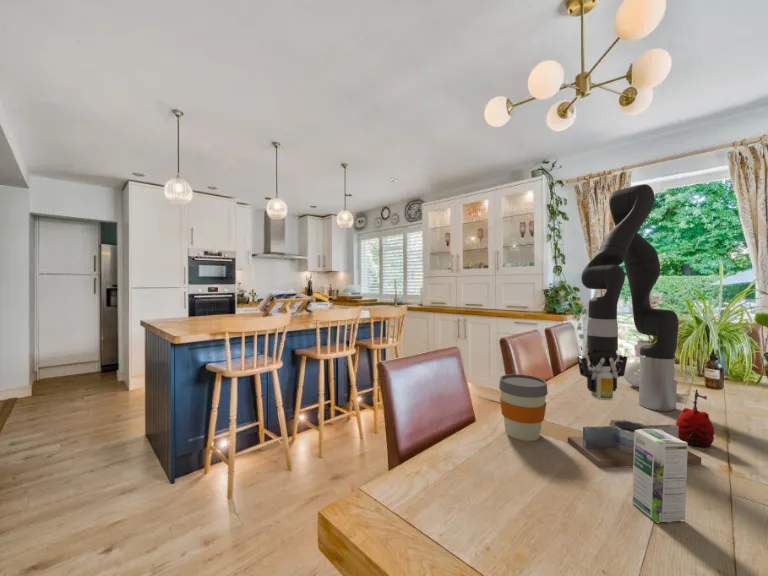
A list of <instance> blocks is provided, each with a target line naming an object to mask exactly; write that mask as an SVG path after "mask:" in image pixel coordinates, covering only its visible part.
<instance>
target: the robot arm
mask: <svg viewBox="0 0 768 576" xmlns="http://www.w3.org/2000/svg"><path fill="white" fill-rule="evenodd" d="M655 200H656V199H655V193H654V190H653V188H652V187H651V186H650V185H649V184H644V183H643V184H638V185H633V186H628V187H626V188H621V189H618V190H614V191H612V192H611V194H610V195H609V199H608V206H609V211H610V214H611V217H612V220H613V223H614V227H613V228H612V229H611V230H610V231H608V233H607V234H606V235H605V236H604V238H603V241H602V243H601V245H600V247H599V250H598V252H597V253H596V255H594V256H593V258H591V260H590V261H589V262H588V263H587V264H586V266H585V267H584V268H583V271H582V272H581V278H580V279H581V283H582V285H583V286H584V287H585V288H586V289H589V290H606V291H605V293H604V294H603V296H598V297H592V298H589V300H588V310H587V311H588V320H587V328H586V329H587V330H586V331H587V333H586V334H587V337H586V340H587V345H586V346H587V347H586V348H587V349H588V351H587V354H586V355H583V356H582V355H578V356H577V358H576V359H577V364H578V368H579V374H580V376H582V377H585V379H587V381H586V386H587V387H586V388H587V390H588V391H589V392H590V393H591V392H596V380H595V378H596V375H597V373H599V371H600V369H601V367H602V366H610V367H611V370H610V371H609V372H610V373H612V375H613V392H616V391H617V388H618V379H619V378H620V377H623V376H624V373H625V368H626V363H627V355H622V354H618V353H617V351H618V349H619V325H618V302H619V299H620V295H621V293H622V289H623V286H624V284H625V281H626V276H627V280H628V287H629V291H630V296H631V298H630V299H631V304H632V316H633V324H634V326H635V329H636V330H637V332H638V333H640V334H642V335H646V336H654V337H656V340H655V342H654V343H651V344H645V345H641V346H640V348H639V357H640V369H639V388H638V404H639V406H641V407H643V408H647V409H648V410H649V409H650V410H653V411H654V410H655V411H660V412H672V411H673V410H676V409H677V393H678V392H677V391H678V390H677V385H678V381H677V380H675V358H676V357H675V356H676V355H675V354H676V351H677V346H678V335H679V317H678V314H677V313H676V312H674V311H673V310H670V309H664V308H663V309H661V308H658V309H657V308H652V306H651V302H650V296H651V292H652V290H653V288H654V286H655V285H656V283H657V281H658V279H659V278H660V275H661V264H660V260H659V259H660V258H659V254H658V251H657V250H656V248H655V247H654V246H653V245H652V244H651V243H650V242H649V241H648V240H647V239H645V238H644V237H643V236H642V235H641V234H640V233H639V230H640V228H641V227H642V226H643V224H644V223H645V221H646V220H647V218H648V217H649V215H650V214H651V212H652V211H653V208H654V206H655V205H654V204H655ZM622 264H624V269H625V270H624V269H623V268H622V267H621V266H620V265H622ZM594 367H595V368H594Z"/></svg>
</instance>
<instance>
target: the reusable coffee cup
mask: <svg viewBox="0 0 768 576" xmlns="http://www.w3.org/2000/svg"><path fill="white" fill-rule="evenodd" d="M498 387H499V390H500V396H499V403H500V410H501V414H502V416H503V423H504V424H503V425H504V430H505V431H504V432H505V433H506V435H508V436H509V437H511V438H514V439H517V440H520V441H526V442H527V441H529V442H531V441H536V440H538V439H539V438H540V436H541V430H542V425H543V424H542V423H543V421H544V420H545V416H546V415H545V414H546V408H547V402H546V396H548V384H547V381H546V380H545V379H543V378H540V377H537V376H534V375H529V374H521V373H510V374H508V373H507V374H504V375H501V376H500V377H499V386H498Z"/></svg>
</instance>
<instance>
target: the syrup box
mask: <svg viewBox="0 0 768 576" xmlns="http://www.w3.org/2000/svg"><path fill="white" fill-rule="evenodd" d="M688 449H689V444H688V443H687V442H685V441H682V440H680V439H679V438H676V437H674V436H672V435H669V434H667V433H665V432H664V431H662V430H658V429H639V430H635V434H634V464H633V466H632V467H633V468H632V469H633V470H632V494H631V495H632V496H631V503H633V506H636V507H637V508H638V509H639V510H640V511H641V512H643V513H644V514H646V516H647V517H649V518H650V519H652V521H653V522H655V523H656V522H667V523H670V522H669V521H680V522H682V521H681V520H685V521H686V503H687V501H686V499H687V474H688V473H687V471H688V465H687V454H688V451H689V450H688Z"/></svg>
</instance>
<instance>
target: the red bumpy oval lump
mask: <svg viewBox="0 0 768 576" xmlns="http://www.w3.org/2000/svg"><path fill="white" fill-rule="evenodd" d="M692 391H693V393H694V401H693V408H692V409H690V408H689V407H684V408H683V409H682V412H681V413H680V414H679V416H678V417H677V418H676V422H675V425H676V426H678V427H679V428H678V439H680V440H682V441H685V442H687V443H688V445H690V446H693V447H699V448H708V447H710V446H712V444H713V443H714V440H715V437H714V435H715V428H714V425H713V423H712V421H711V419H710V417H709V413H707V412H706V411H700V410H698V407H697V404H698V398H702V399H703V400H706V401H707V400H708V399H707V397H708V396H707V395H701V394H700V393H699V392H698V391H699V390H698V389H695V390H694V389H693V390H692Z"/></svg>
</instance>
